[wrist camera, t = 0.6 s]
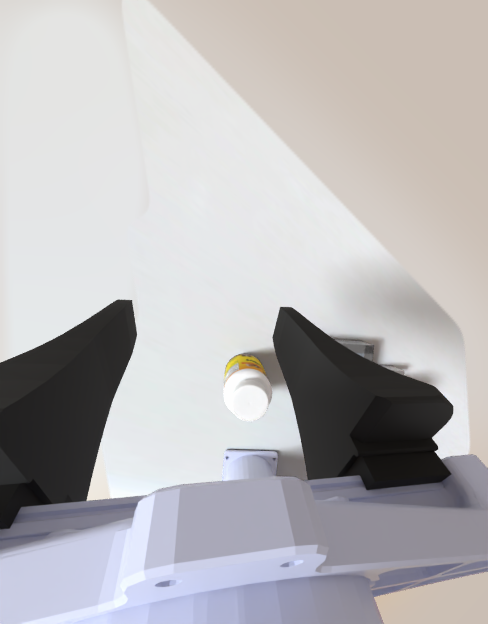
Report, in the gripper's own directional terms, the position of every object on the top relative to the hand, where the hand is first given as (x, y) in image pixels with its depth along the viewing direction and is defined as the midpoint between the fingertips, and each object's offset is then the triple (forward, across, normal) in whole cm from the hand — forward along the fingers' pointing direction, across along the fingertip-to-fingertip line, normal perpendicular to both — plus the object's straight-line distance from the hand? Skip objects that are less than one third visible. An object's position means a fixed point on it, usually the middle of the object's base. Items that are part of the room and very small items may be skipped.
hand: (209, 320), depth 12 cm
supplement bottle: (+14, -6, +19) cm, 24 cm away
